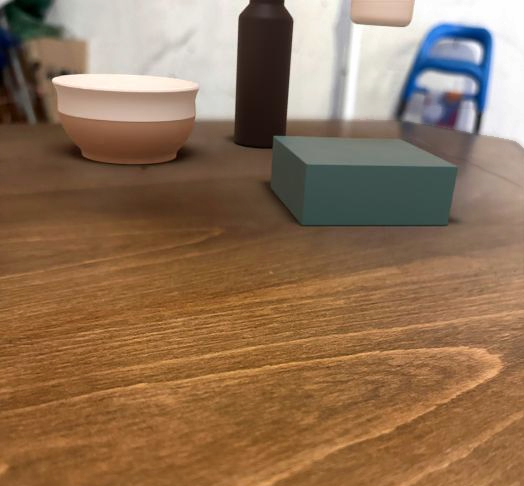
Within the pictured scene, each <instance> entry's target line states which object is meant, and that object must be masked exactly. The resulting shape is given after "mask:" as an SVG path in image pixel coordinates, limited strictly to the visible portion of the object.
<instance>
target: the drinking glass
mask: <svg viewBox="0 0 524 486" xmlns="http://www.w3.org/2000/svg"><path fill="white" fill-rule="evenodd" d="M415 2H416V0H350V11H349V19H350V21H351V22H352V23H353V24H355V25H360V26H361V25H363V26H373V27H374V26H376V27H390V28H391V27H392V28H393V27H394V28H406V27H408V26H409V25H410V24H411V23H412V20H413V16H414V9H415Z"/></svg>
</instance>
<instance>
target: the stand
mask: <svg viewBox="0 0 524 486" xmlns="http://www.w3.org/2000/svg"><path fill="white" fill-rule="evenodd" d="M458 171H459V166H458V165H455V164H453V163H451V162H449V161H447V160H445V159H443V158H441V157H439V156H436V155H435V154H432V153H430V152H428V151H427V150H424V149H422V148H419V147H418V146H416V145H413V144H412V143H409V142H407V141H405V140H403V139H402V138H375V137H374V138H371V137H370V138H369V137H333V136H332V137H330V136H297V135H295V136H292V135H286V136H273V148H272V154H271V172H270V185H269V186H270V189H271V191H273V193H274V194H275V195H276V197H277V198H278V199H279V200H280V201H281V202H282V204H283V205H284V206H285V207H286V209H288V211H289V212H290V213H291V214H292V216H293V217H294V218H295V219H296V220H297V222H298V223H299V224H300V225H301V226H448V225H449V220H450V219H449V218H450V214H451V208H452V203H453V197H454V192H455V186H456V181H457V176H458Z"/></svg>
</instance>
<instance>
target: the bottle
mask: <svg viewBox="0 0 524 486" xmlns="http://www.w3.org/2000/svg"><path fill="white" fill-rule="evenodd" d="M285 1H286V0H249V1H248V4H247V5H246V6H245V8H244V9H242V11H241V12H240V13H239V15H238V19H237V21H238V22H237V42H236V43H237V44H236V45H237V46H236V71H235V73H236V75H235V97H234V98H235V101H234V124H233V125H234V126H233V127H234V128H233V129H234V130H233V140H234V142H235V144H238V145H241V146H245V147H248V148H249V147H250V148H259V149H268V148H269V149H273V136H287V122H288V108H289V95H290V94H289V93H290V79H291V66H292V65H291V64H292V51H293V50H292V49H293V37H294V23H295V21H294V17H293V16H292V15H291V13H290V12H289V10H288V9H287V8H286V5H285Z"/></svg>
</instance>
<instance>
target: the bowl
mask: <svg viewBox="0 0 524 486" xmlns="http://www.w3.org/2000/svg"><path fill="white" fill-rule="evenodd" d="M51 83H52V85H53V87H54V89H55V92H56V95H57V111H58V116H59V120H60V124H61V126H62V128H63V129H64V131H65V133H66V135H67V136H68V137H69V139H70V140H71V141H72V142H73V143H74V144H75V145H76V146H77V147H78V148H79V149H80V151H81V156H82V157H84V158H86V159H89V160H91V161H95V162H100V163H108V164H117V165H119V164H120V165H147V164H148V165H151V164H159V163H165V162H169V161H172V160H174V159H175V158H177V153H178V151H179V150H180V149H181V148H182V147H183V146H184V145H185V143H186V142H187V141H188V140H189V138H190V136H191V134H192V132H193V130H194V128H195V123H196V117H197V107H196V99H197V95H198V92H199V91H200V88H201V87H200V84H199V83H197V82H195V81H191V80H188V79H183V78H182V79H181V78H176V77H175V78H174V77H167V76H155V75H144V74H143V75H142V74H126V73H125V74H124V73H123V74H121V73H79V74H77V73H76V74H66V75H59V76H55V77H53V78H52V80H51Z"/></svg>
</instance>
